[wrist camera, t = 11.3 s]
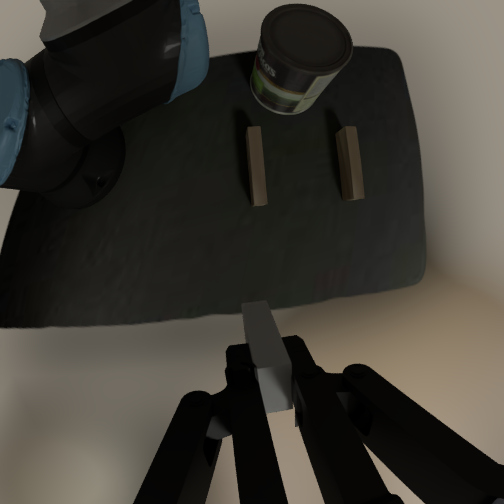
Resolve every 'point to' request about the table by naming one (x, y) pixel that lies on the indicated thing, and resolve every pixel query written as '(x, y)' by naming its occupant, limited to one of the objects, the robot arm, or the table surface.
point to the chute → (346, 156)
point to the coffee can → (298, 57)
